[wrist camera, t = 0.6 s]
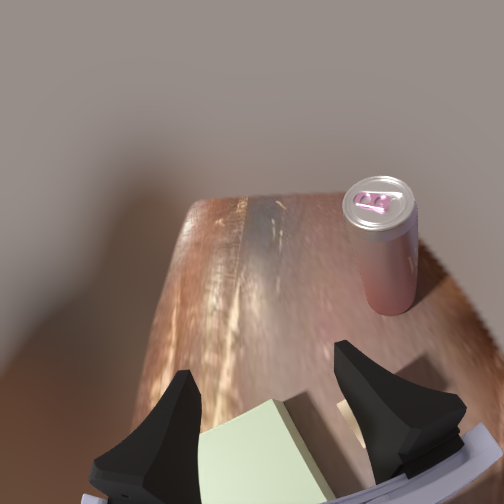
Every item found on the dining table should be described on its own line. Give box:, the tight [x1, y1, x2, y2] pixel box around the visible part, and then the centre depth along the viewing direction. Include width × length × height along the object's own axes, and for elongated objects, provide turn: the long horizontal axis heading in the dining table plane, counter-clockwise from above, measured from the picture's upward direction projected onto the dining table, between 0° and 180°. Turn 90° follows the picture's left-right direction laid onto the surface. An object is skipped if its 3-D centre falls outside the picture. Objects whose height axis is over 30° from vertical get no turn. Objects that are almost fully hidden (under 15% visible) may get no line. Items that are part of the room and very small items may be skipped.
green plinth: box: [198, 399, 336, 504], centre depth 21 cm, size 14×14×3 cm
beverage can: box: [342, 176, 418, 316], centre depth 23 cm, size 6×6×15 cm
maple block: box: [337, 399, 366, 448], centre depth 19 cm, size 5×5×5 cm
